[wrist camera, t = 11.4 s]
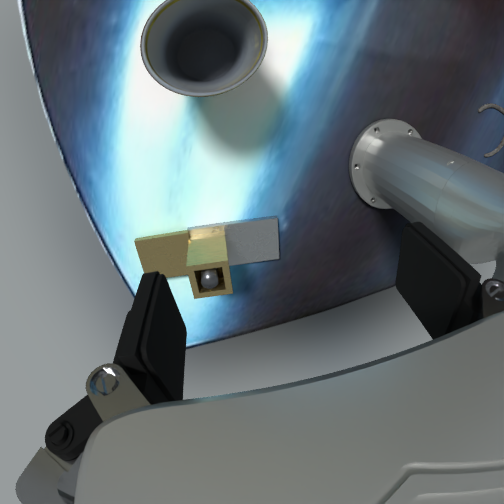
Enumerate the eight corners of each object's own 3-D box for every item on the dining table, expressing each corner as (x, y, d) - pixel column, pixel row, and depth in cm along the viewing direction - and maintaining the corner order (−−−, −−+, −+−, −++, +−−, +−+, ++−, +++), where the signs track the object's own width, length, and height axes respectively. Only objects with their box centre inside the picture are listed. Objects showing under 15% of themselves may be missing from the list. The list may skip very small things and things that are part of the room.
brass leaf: (223, 224, 36) (226, 253, 30) (229, 265, 39) (233, 298, 33) (135, 238, 35) (122, 268, 29) (147, 276, 38) (138, 310, 32)
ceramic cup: (239, 104, 30) (251, 107, 21) (152, 90, 27) (128, 89, 19) (267, 5, 24) (288, -25, 15) (179, -10, 21) (169, -45, 13)
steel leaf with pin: (276, 215, 37) (291, 246, 30) (278, 255, 40) (292, 291, 33) (187, 227, 36) (183, 261, 30) (195, 267, 39) (194, 305, 33)
